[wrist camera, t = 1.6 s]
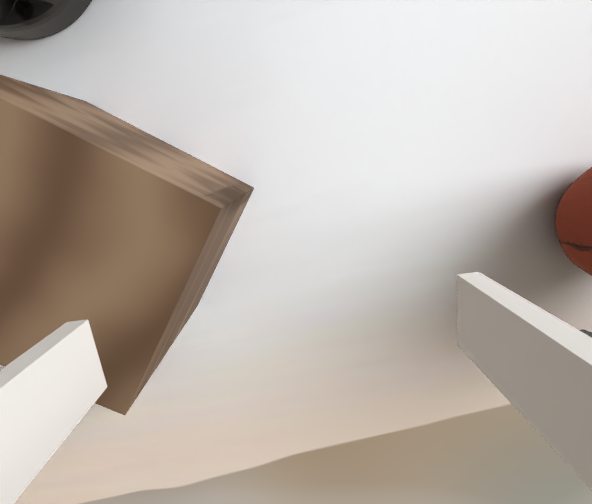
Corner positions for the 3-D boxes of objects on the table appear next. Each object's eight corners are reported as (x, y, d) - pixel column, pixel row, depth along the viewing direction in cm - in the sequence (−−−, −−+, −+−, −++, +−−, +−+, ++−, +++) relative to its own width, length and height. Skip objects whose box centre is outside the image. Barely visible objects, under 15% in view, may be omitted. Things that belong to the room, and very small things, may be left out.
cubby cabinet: (38, 232, 34) (-181, 290, 18) (84, 101, 31) (-124, 36, 16) (197, 305, 36) (124, 415, 20) (254, 187, 33) (221, 208, 18)
